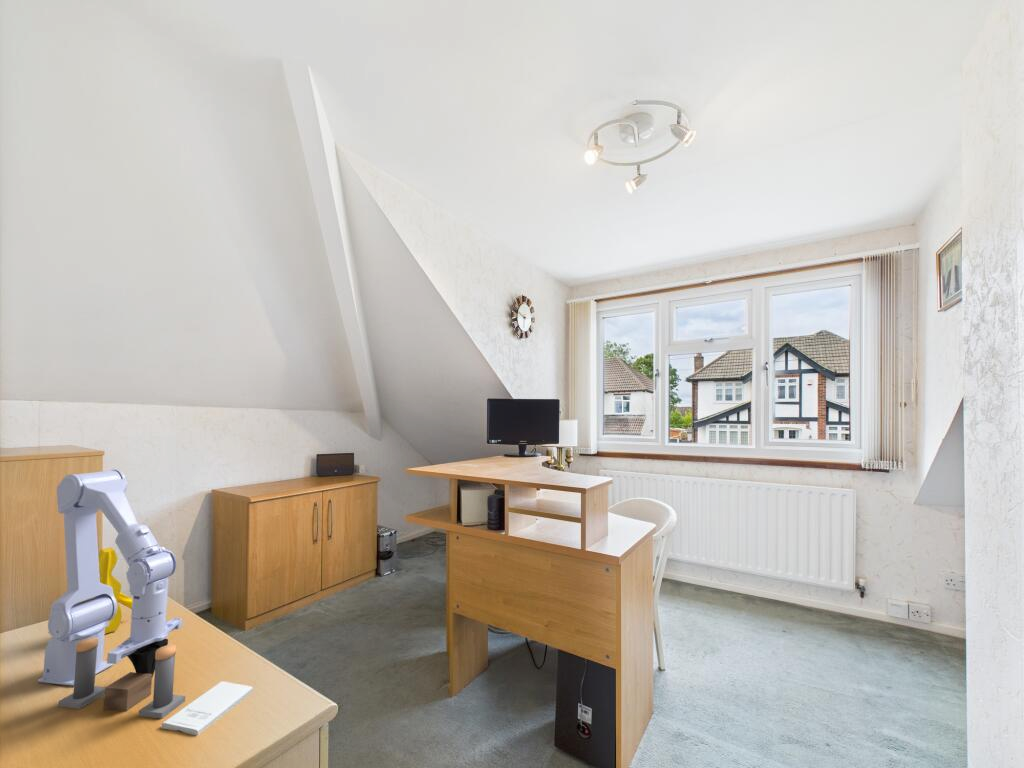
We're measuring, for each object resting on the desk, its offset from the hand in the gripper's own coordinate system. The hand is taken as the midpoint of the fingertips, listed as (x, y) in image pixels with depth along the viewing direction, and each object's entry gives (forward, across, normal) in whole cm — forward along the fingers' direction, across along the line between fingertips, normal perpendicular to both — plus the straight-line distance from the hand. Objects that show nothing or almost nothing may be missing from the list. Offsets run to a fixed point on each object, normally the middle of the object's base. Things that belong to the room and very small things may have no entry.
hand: (145, 679), depth 90 cm
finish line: (+2, -4, 0) cm, 5 cm away
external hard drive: (+3, -3, -18) cm, 19 cm away
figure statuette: (+2, +18, +33) cm, 37 cm away
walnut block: (+2, -4, 0) cm, 4 cm away
